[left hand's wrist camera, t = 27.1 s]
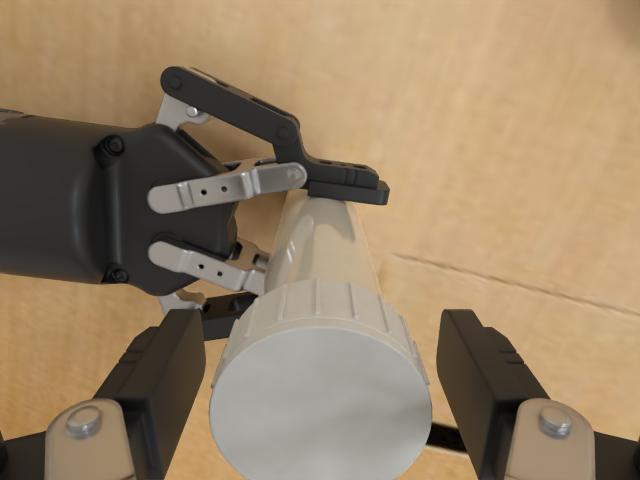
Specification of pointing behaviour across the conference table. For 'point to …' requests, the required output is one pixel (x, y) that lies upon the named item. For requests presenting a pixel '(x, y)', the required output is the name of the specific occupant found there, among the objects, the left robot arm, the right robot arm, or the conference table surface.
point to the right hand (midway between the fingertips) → (375, 239)
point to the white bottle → (319, 244)
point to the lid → (320, 387)
